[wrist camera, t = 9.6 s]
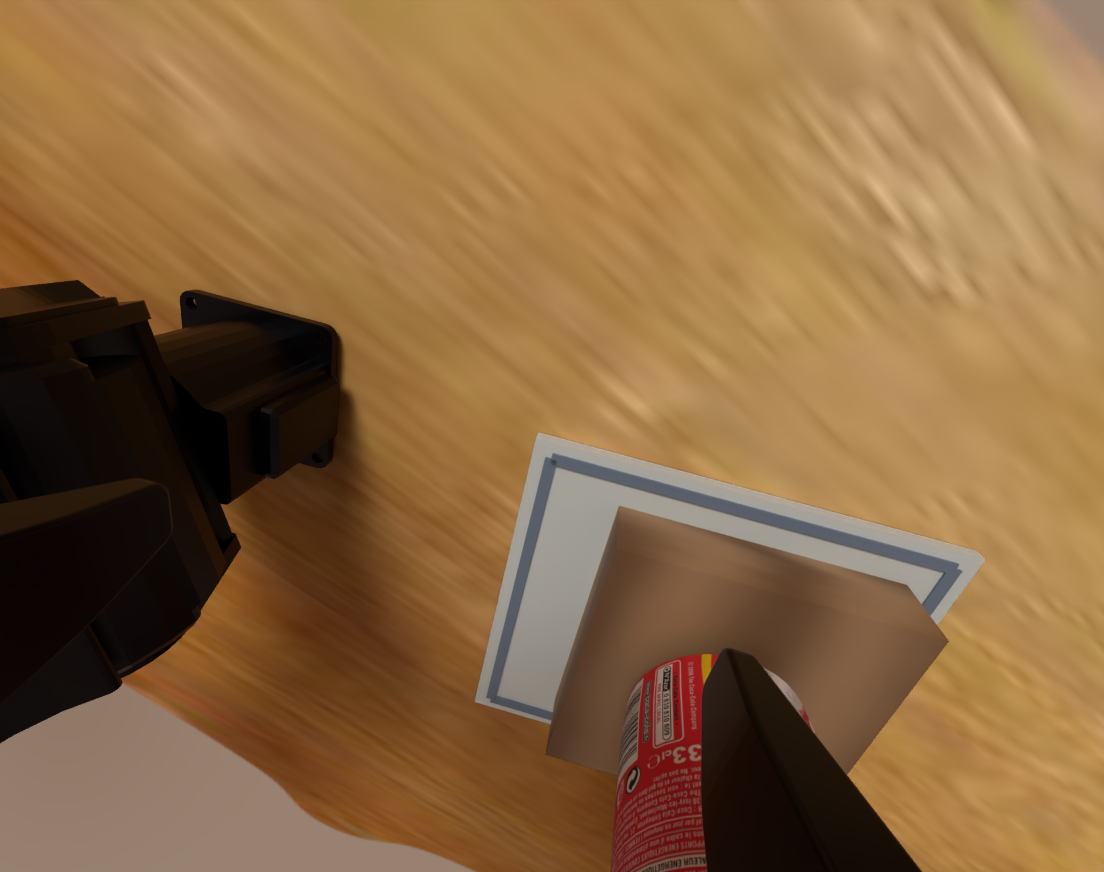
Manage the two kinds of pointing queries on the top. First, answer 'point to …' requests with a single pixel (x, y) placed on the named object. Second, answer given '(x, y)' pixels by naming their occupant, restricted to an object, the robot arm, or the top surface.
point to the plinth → (738, 634)
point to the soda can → (665, 769)
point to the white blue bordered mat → (617, 480)
